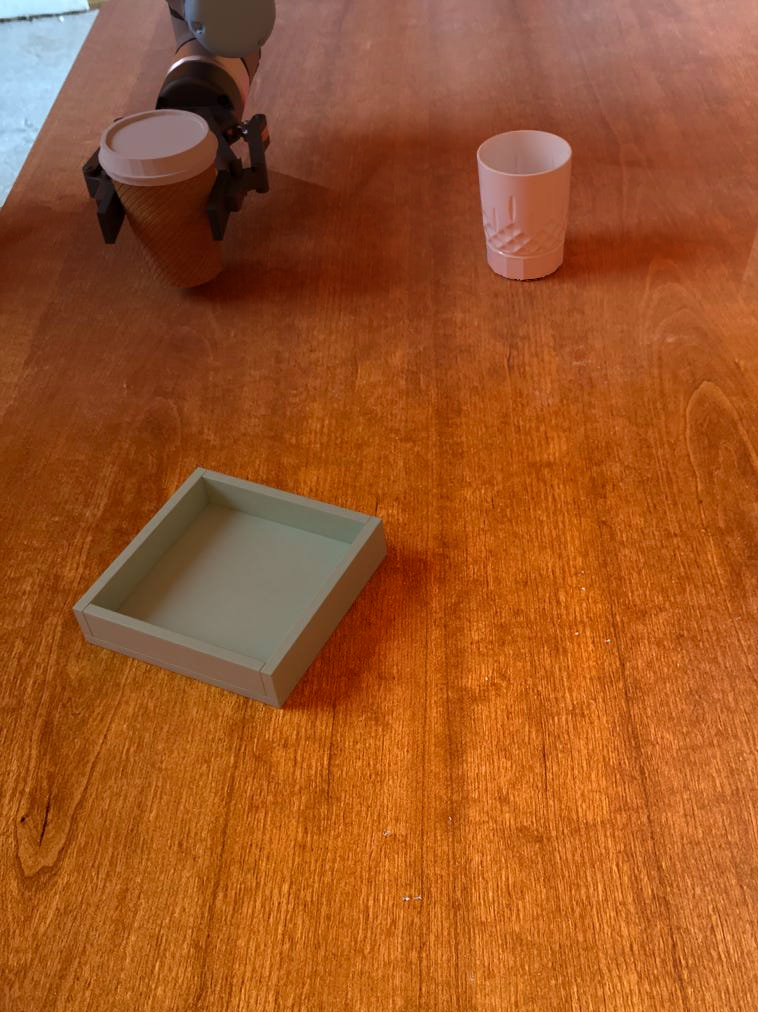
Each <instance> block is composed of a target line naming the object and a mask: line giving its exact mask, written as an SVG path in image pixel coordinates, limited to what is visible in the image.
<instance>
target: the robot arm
mask: <svg viewBox="0 0 758 1012" xmlns="http://www.w3.org/2000/svg"><path fill="white" fill-rule="evenodd" d="M164 1H165V2H166V3H167V5H168V10H169V15H170V19H171V24H172V29H173V34H174V38H175V39H174V40H175V43H176V50H175V53H174V56H173V58H172V60H171V62H170V65H169V66H168V69H167V71H166V74H165V77H164V80H163V82H162V85H161V88H160V90H159V93H158V95H157V98H156V102H155V106H154V107H155V108H154V110H161V109H173V110H182V111H188V112H191V113H194V114H197V115H199V116H200V117H202V118H203V119H204V120H205V121H206V122H207V124H208V126H209V128H210V131H211V132H213V133H214V135H215V136H216V138H217V141H218V148H217V152H216V158H215V169H216V171H217V172H216V180H215V183H214V187H213V190H212V193H211V197H210V200H209V203H208V207H207V214H208V219H209V223H210V228H211V232H212V237H213V241H221V242H222V241H223V240H224V237H225V234H226V233H225V232H226V229H227V226H228V222H229V219H230V216H231V213H239V212H240V211H241V210H242V209H243V205H244V201H245V198H246V197H247V196H248V195H249V193H248V192H251V191H255V193H256V194H259V195H262V194H263V195H264V194H268V193H269V192H270V190H271V188H270V181H269V174H268V166H267V158H266V151H267V150H268V148H269V146H270V144H271V138H270V134H269V133H270V132H269V127H268V121H267V115H266V114H264V113H255V114H254V115H252V116H251V117H250V120H249V119H246V120H244V121H242V120H243V116H244V113H245V109H246V105H247V102H248V97H249V94H250V91H251V87H252V85H253V84H252V83H253V81H254V78H255V75H256V73H257V72H258V69H259V67H260V60H261V59H262V47H263V46H265V44H266V42H267V41H268V40H269V38H270V37H271V35H272V33H273V31H274V27H275V23H276V17H277V10H276V9H277V7H276V2H275V0H164ZM123 118H124V117H118V118H117V117H116V118H115V119H114V120H113V123H115V122H116V121H118V120H120V119H123ZM241 138H242V140H243V143H246V144H247V148H248V153H249V162H250V167H249V166H248V167H244V166H243V162H242V157H241V156H239V158H238V157H237V156H236V154H235V152H234V151H233V150H232V148H231V146H232V145H233V144H235V143H237V142H239V141H240V139H241ZM100 149H101V148H100V145H99V146H98V147H97V149H96V150H95V152H93V154H92V155H91V156H90V157H89V159H88V160H87V161H86V162H85V164H84V165H83V166H82V167H81V171H82V173H83V174H82V175H83V178H84V182H85V184H86V185H85V186H86V188H87V192H88V195H89V197H90V198H91V199H94V200H95V203H96V207H97V211H96V212H95V213H96V216H97V221H98V223H99V227H100V230H101V234H102V237H103V241H104V243H105V245H116V242H117V239H118V237H119V233H120V231H121V230H122V229H121V228H122V226H123V223H124V221H125V218H126V217H127V215H126V213H125V211H124V208H123V206H122V204H121V201H120V198H119V196H118V194H117V192H116V190H115V187H114V184H113V182H112V179H111V177H110V176H109V175H108V174H107V172H106V171H105V170H104V169H103V167H102V166H101V164H100V162H99V156H98V154H99V152H100Z"/></svg>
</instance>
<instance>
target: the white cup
mask: <svg viewBox="0 0 758 1012" xmlns="http://www.w3.org/2000/svg"><path fill="white" fill-rule="evenodd" d="M476 161H477V162H476V163H477V172H478V184H479V195H480V196H479V197H480V207H481V208H480V209H481V215H482V226H483V233H484V236H485V242H486V244H485V245H486V257H487V258H486V259H487V265H488V266H489V267H490V268H491V270H492V271H493V272H494V273H495V274H497V275H499V276H501V275H502V276H501V277H503V278H506V279H508V278H509V279H508V280H514V279H517V280H516V281H522V280H523V279H529V278H535V277H541V276H545V275H547V274H549V273H552V272H554V271H555V270H556V269H557V268H558V267H559V266H560V265H561V264H562V263H563V262H564V250H565V249H564V248H565V238H566V234H567V228H568V219H569V207H570V193H571V176H572V164H573V163H572V162H573V148H572V146H571V144H570V143H569V142H568V141H567V140H566V139H565V138H563V137H561V136H559V135H557V134H554V133H551V132H547V131H542V130H532V129H520V130H519V129H518V130H511V131H505V132H502V133H499V134H495V135H494V136H491V137H490V138H488V139H486V140H485V141H483V142H482V143H481V144H480V146H479V147H478V149H477V151H476ZM562 265H563V264H562ZM562 265H561V266H562ZM561 266H560V267H561ZM560 267H559V268H560ZM559 268H558V269H559ZM519 279H520V280H519Z"/></svg>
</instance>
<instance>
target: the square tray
mask: <svg viewBox="0 0 758 1012" xmlns="http://www.w3.org/2000/svg"><path fill="white" fill-rule="evenodd" d="M387 555H388V549H387V541H386V534H385V525H384V520H383V518H381V517H378V516H374V515H371V514H367V513H363V512H359V511H356V510H353V509H349V508H346V507H342V506H339V505H335V504H331V503H327V502H324V501H321V500H317V499H314V498H310V497H307V496H303V495H299V494H296V493H292V492H289V491H286V490H282V489H278V488H275V487H271V486H268V485H264V484H262V483H261V484H260V483H257V482H254V481H250V480H246V479H243V478H240V477H236V476H231V475H229V474H225V473H222V472H218V471H215V470H211V469H207V468H204V467H200V466H197V468H196V469H195V470H194V471H193V472H192V473H191V474H190V475H189V476H188V478H187V479H186V480H185V481H184V482H183V483H182V484H181V485H180V487H178V489H177V490H176V491H175V492H174V493H173V494H172V496H171V497H170V498H169V499H168V500H167V501H166V502H165V504H163V506H162V507H161V508H160V509H159V510H158V511H157V512H156V513H155V514H154V516H153V517H152V518H151V519H150V520H149V521H148V522H147V524H146V525H144V526H143V528H142V529H141V530H140V531H139V533H138V534H136V536H135V537H134V538H133V539H132V541H130V543H129V544H128V545H127V546H126V547H124V549H123V550H122V552H121V553H119V555H118V556H117V557H116V558H115V559H114V560H113V562H112V563H111V564H110V565H109V566H108V567H107V568H106V569H105V571H104V572H102V574H101V575H100V576H99V578H97V579H96V581H94V582H93V584H92V585H91V586H90V587H89V589H88V590H87V591H86V592H85V593H84V594H83V595H82V596H81V597H80V598H79V600H78V601H77V602H76V603H75V604H74V606H72V611H73V613H74V615H75V618H76V621H77V622H78V624H79V627H80V629H81V632H82V634H83V636H84V638H85V640H86V643H89V644H90V645H91V644H92V645H95V646H97V647H100V648H103V649H106V650H109V651H112V652H114V653H117V654H121V655H124V656H126V657H129V658H132V659H135V660H138V661H140V662H144V663H146V664H150V665H152V666H155V667H158V668H160V669H164V670H167V671H170V672H172V673H176V674H178V675H181V676H184V677H187V678H190V679H193V680H196V681H199V682H202V683H205V684H207V685H211V686H212V687H213V686H214V687H216V688H219V689H221V690H225V691H228V692H230V693H233V694H236V695H238V696H242V697H245V698H248V699H251V700H253V701H256V700H257V701H256V702H260V703H262V704H265V705H268V706H271V707H274V708H277V709H282V707H283V706H284V704H285V703H286V701H287V700H288V699H289V697H290V696H291V695H292V693H293V691H294V690H295V688H296V687H297V686H298V684H299V683H300V681H301V679H303V677H304V675H305V674H306V672H307V671H308V670H309V668H310V667H311V665H312V664H313V662H314V661H315V659H316V658H317V656H318V655H319V654H320V652H321V651H322V649H323V648H324V646H325V645H326V643H327V642H328V641H329V639H330V638H331V636H332V635H333V633H334V632H335V631H336V629H337V627H339V624H340V623H341V621H342V620H343V619H344V617H345V616H346V614H347V613H348V612H349V610H350V608H352V606H353V604H354V602H355V601H356V600H357V598H358V597H359V596H360V594H361V593H362V591H363V590H364V589H365V587H366V585H367V584H368V582H369V581H370V580H371V578H372V576H373V575H374V574H375V573H376V571H377V569H378V568H379V567H380V565H381V564H382V562H383V561H384V559H385V558H386V557H387Z"/></svg>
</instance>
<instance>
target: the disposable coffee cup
mask: <svg viewBox="0 0 758 1012" xmlns="http://www.w3.org/2000/svg"><path fill="white" fill-rule="evenodd" d="M99 146H100V148H101V149H100V152H99V154H98V156H99V162H100V164H101V166H102V167H103V169H104V170H105V171H106V172H107V174H108V175H109V176H110V177H111V179H112V182H113V184H114V187H115V190H116V192H117V194H118V196H119V198H120V201H121V204H122V206H123V208H124V211H125V213H126V218H127V220H128V223H129V225H130V228H131V229H132V233H133V234H134V238H135V240H136V241H137V244H138V247H139V249H140V252H141V254H142V257H143V258H144V262H145V263H146V266H147V269H148V271H149V274H150V276H151V278H152V280H153V281H155V282H156V283H158V284H159V285H162V286H164V287H168V288H178V289H179V288H180V289H181V288H183V289H184V288H192V287H196V286H200V285H203V284H205V283H207V282H210V281H211V280H213V279H215V278H216V277H217V276H218V275H219V274H220V273H221V272H222V270H223V268H224V255H223V246H222V245H223V244H222V241H213V237H212V232H211V228H210V223H209V219H208V214H207V207H208V203H209V200H210V197H211V193H212V190H213V187H214V183H215V180H216V177H217V168H215V158H216V152H217V148H218V141H217V138H216V136H215V135H214V133H213V132H211V131H210V128H209V126H208V124H207V122H206V121H205V120H204V119H203V118H202V117H200V116H199V115H197V114H194V113H191V112H188V111H182V110H173V109H161V110H155V109H152V110H146V111H141V112H138V113H132V114H130V115H127V116H124V117H123V119H120V120H118V121H116V122H115V123H114V122H113V123H111V124H110V125H109V126H107V127H106V128H105V130H103V132H102V133H101V136H100V140H99Z"/></svg>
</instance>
